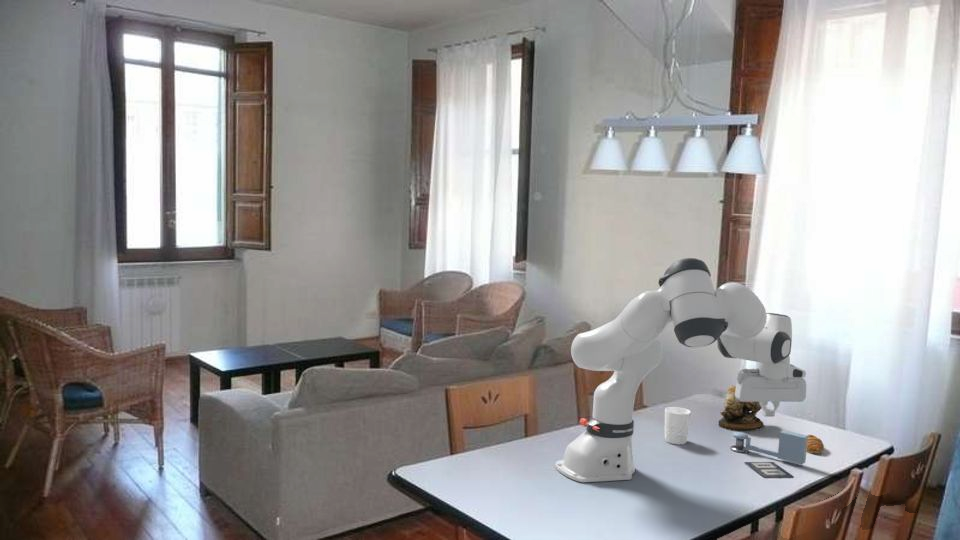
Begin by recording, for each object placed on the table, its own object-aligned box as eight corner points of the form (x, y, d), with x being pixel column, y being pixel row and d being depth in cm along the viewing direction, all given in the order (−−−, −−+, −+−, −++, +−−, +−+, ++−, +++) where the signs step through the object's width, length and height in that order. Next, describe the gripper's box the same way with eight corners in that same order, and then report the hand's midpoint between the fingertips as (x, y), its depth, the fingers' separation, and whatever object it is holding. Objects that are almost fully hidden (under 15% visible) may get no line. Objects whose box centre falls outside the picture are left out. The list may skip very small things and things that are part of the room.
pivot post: (739, 453, 224) (740, 441, 224) (726, 448, 229) (727, 436, 228) (751, 451, 226) (752, 439, 226) (739, 446, 231) (740, 434, 231)
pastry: (827, 456, 226) (829, 444, 225) (804, 454, 227) (805, 442, 227) (819, 446, 235) (820, 434, 235) (797, 444, 236) (798, 433, 236)
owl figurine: (745, 417, 263) (749, 370, 261) (773, 427, 253) (778, 379, 251) (709, 423, 254) (714, 374, 252) (737, 434, 244) (742, 383, 242)
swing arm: (729, 446, 227) (731, 421, 226) (735, 443, 231) (737, 418, 230) (801, 465, 214) (803, 438, 213) (806, 461, 217) (808, 435, 216)
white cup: (686, 438, 237) (688, 407, 236) (690, 446, 229) (692, 415, 228) (661, 436, 237) (663, 405, 236) (664, 444, 230) (666, 413, 229)
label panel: (763, 477, 205) (763, 475, 205) (744, 463, 216) (744, 461, 216) (793, 477, 207) (793, 475, 207) (773, 462, 217) (773, 461, 217)
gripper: (743, 371, 206) (739, 419, 208) (811, 372, 209) (806, 419, 211) (732, 365, 213) (729, 412, 214) (798, 366, 215) (794, 412, 217)
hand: (768, 416), depth 212 cm, fingers closed
